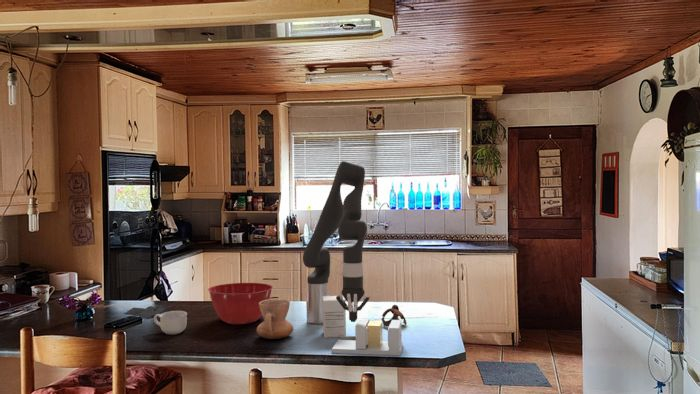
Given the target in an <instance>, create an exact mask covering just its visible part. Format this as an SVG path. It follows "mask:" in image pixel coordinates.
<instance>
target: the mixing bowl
mask: <svg viewBox="0 0 700 394" xmlns="http://www.w3.org/2000/svg"><path fill="white" fill-rule="evenodd" d="M272 289H273V286H272V285H271V284H267V283H263V282H235V283H234V282H233V283H224V284H219V285H218V284H217V285H213V286H210V287H209V288H208V289H207V290H208V292H209V296H210V299H211V300H210V301H211V303H212V306H213V308H214V310H215V312H216V314H217V316H218V318H219V319H220V320H221V321H223V322H225V323H226V324H228V325H229V324H230V325H248V324H251V323H254V322H257V321H258V320H260V319H261V317H263V315H262V313H261V310H260V307H259V303H260V302H261V301H264V300H268V299H271V298H270V297H271V293H272Z"/></svg>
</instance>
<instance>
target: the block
mask: <svg viewBox="0 0 700 394" xmlns="http://www.w3.org/2000/svg"><path fill="white" fill-rule="evenodd" d="M383 341H384V340H383V322H382V320H370V322H369V324H368V348H381V345H382V343H383Z"/></svg>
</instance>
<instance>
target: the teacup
mask: <svg viewBox="0 0 700 394" xmlns="http://www.w3.org/2000/svg"><path fill="white" fill-rule="evenodd" d="M187 316H188V312H187V311H184V310H169V311H168V312H165V313H163V314H156V315H155V316H154V318H153V321H154V323H155V324H156V325H157V326H159V328H160V329H161V332H163V333H165V334H166V335H178V334H180V333H182V332H184V330H185V329H186V327H187V326H188V325H187V323H188V322H187V321H188V317H187ZM158 318H159V319H160V320H159V321H158Z"/></svg>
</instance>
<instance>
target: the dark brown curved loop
mask: <svg viewBox="0 0 700 394" xmlns="http://www.w3.org/2000/svg"><path fill="white" fill-rule="evenodd" d="M388 313H392V317H391V318H390V319H389V320H387V321H385V317H386V316H387V315H388ZM381 316H382V318H381V320H380V321H382V326H384V327H389V325H390V323H391V321H392V320H403V322H402V323H403V325H404V326H407V320H406V318H405V316H404V314H403V313H402V312H401V310H400V308H399V306H398V305H397V304H393V305H392V306H391V308H388V309H385V310H384V312H383V313H382V315H381ZM399 317H400V318H399Z"/></svg>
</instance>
